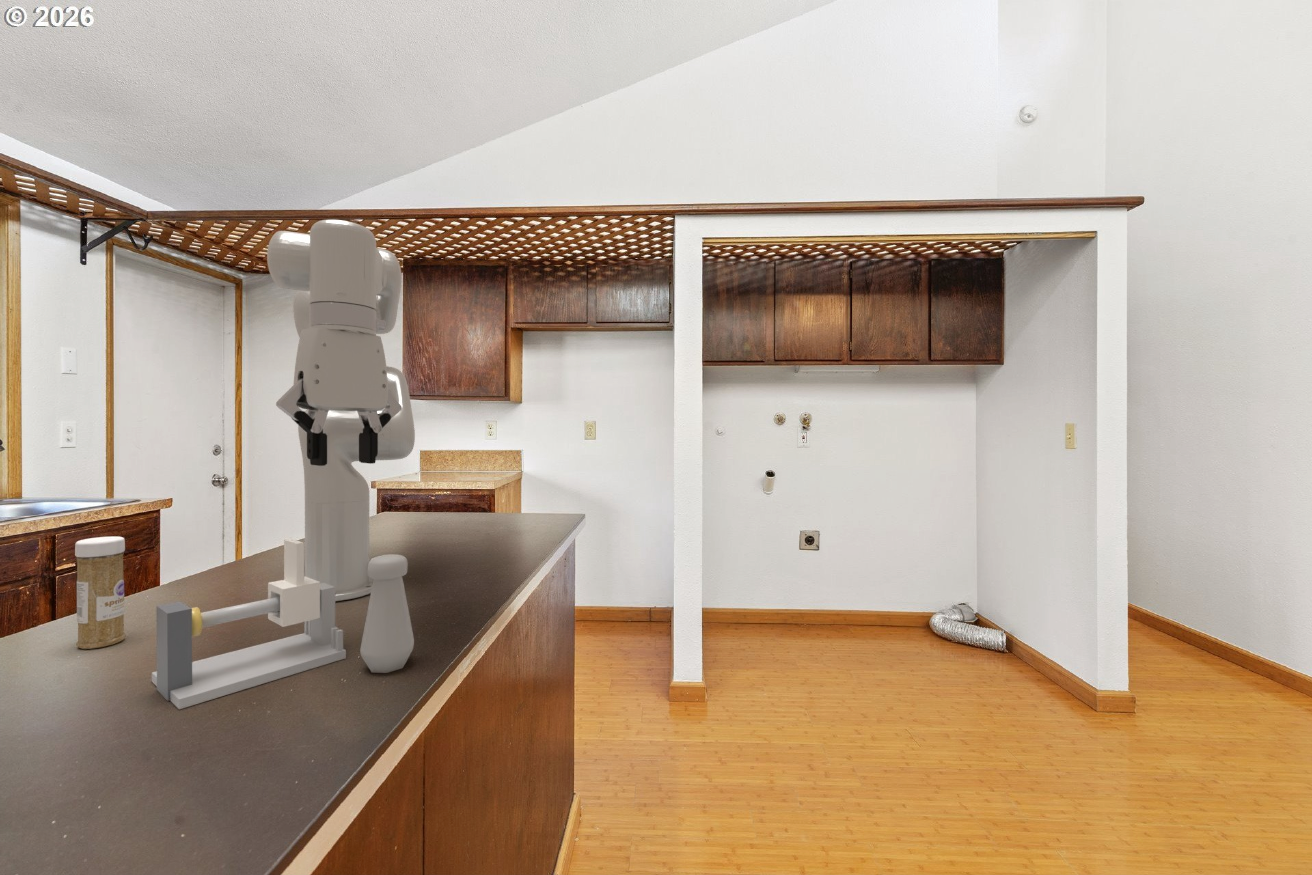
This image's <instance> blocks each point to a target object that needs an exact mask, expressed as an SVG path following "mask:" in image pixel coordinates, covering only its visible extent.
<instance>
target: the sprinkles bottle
mask: <svg viewBox="0 0 1312 875" xmlns="http://www.w3.org/2000/svg"><path fill="white" fill-rule="evenodd" d="M125 542H126V540H125V537H122V536H99V537H91V538H85V539H80V540H78V541H76V542H75V544H74V545H75V546H74V555H75V557H76V561H77V563H76V564H77V565H76V568H77V569H76V571H77V576H76V577H77V578H76V622H77V634H78V636H77V643H76V647H77V648H79V649H83V650H89V649H91V650H92V649H101V648H105V647H107V646H112V645H115V644H118V643H120V642H122V641H123V640H125V638H126V634H125V627H124V626H125V624H124V622H125V621H124V620H125V618H124V616H125V581H124V552H125V551H126V543H125Z"/></svg>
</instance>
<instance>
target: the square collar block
mask: <svg viewBox="0 0 1312 875" xmlns="http://www.w3.org/2000/svg"><path fill="white" fill-rule="evenodd" d="M283 556H284V557H283V568H284V569H283V571H284V572H283V574H284V575H283V579H280V580H276V581H269V582H267V599H270V598H275V597H280V611H275V612H271V613H267V619H268V620H269V621H271V622H273V623H275V624H276V625H278V626H281V627H282V628H285V627H288V626H292V625H293V626H294V625H298V624H301V623H304V622H305V621H309V620H314V619H318V618H320V582H318V581H316V580H313V579H311V578H308V577H305V542H303V541H299V540H297V539H293V538H289V539H284V540H283Z"/></svg>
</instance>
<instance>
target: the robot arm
mask: <svg viewBox="0 0 1312 875" xmlns="http://www.w3.org/2000/svg"><path fill="white" fill-rule="evenodd" d="M266 251H267V255H266V258H267V259H266V260H267V261H266V263H267V268H268V271H269V274H270V277H271V279H272V280H273V282H274V284H275V285H276V286H277V287H279V288H282V289H287V290H293V291H297V292H296V293H295V295H294V298H293V301H292V302H293V305H292V306H293V307H292V308H293V310H292V313H293V319H294V324H295V329H296V332H297V335H298V339H299V340H298V345H297V352H296V356H295V357H296V358H295V365H294V373H293V384H292V386H291V387H290V388H288V389H287V391H286V392H285V393H284V394H283V395H282V396H280V398H279V399H278V400H277V401H276V403H275V406H276V407H277V408H278V409H279V410H280V411H282V412H283V413H284V414H286V415H287V416H288V417H290V419H291V420H292V421H293V422H294V423H295V424H297V426H298V427H297V430H298V438H299V446H300V450H301V457H302V463H303V464H302V465H303V478H304V482H303V483H304V484H303V485H304V576H305V577H308V578H311V579H313V580H316V581H318V582H320V584H321V583H326V584H329V585H331V586H334V587H335V602H340V601H347V600H352V599H357V598H362V597H364V596H367V595H371V590H372V584H373V579H372V578H369V576H368V564H369V561H370V560H371V559H370V488H369V484H368V481H367V480H366V478H365V477H364V476H363V475H362V474H361V472H359V471H358V470H357V469H356V468H355V467H354V466H353V464H352V463H354V462H359V463H361V464H370V465H371V464H373V465H374V464H376V461H394V460H397V461H398V460H401V459H402V460H403V459H406V458H407V457H408V456H410V455H411V453H412V451H413V450H414V447H415V442H416V436H415V435H416V434H415V433H416V431H415V430H416V429H415V423H414V418H413V416H414V415H413V409H412V404H411V403H412V402H411V397H410V396H411V395H410V390H409V386H408V382H407V379H406V376H405V375H404V373H403V371H401V370H400V369H398V368H395V367H392V366H387V361H386V355H385V349H384V345H383V341H382V337H381V336H380V335H384V334H389V333H390V332H392V330H393V329H394V328H395V326H396V323H397V316H398V308H399V302H400V296H401V288H402V268H401V265H400V261H399V260H398V258H397V257H396V255H395V254H394V253H393V252H392V251H390V250H387V249H385V248H379V247H377V240H376V237H375V235H374V233H373V232H372V231H371V230H370V229H369V228H368V227H366V226H363V225H361V224H359V223H356V222H351V221H347V220H344V219H343V220H340V219H322V220H319V221H317V222H315V223H314V224H312V225H311V228H310V230H309V233H304V232H296V231H290V230H289V231H287V230H278V231H276V232H275V233H274V234H273V235H272V237H271V239H270V240H269V242H268V246H267V250H266ZM302 409H304V410H302Z"/></svg>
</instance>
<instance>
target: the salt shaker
mask: <svg viewBox="0 0 1312 875" xmlns="http://www.w3.org/2000/svg"><path fill="white" fill-rule="evenodd" d="M369 560H370V561H369V564H368V576H369V578H372V579H373V584H372V590H371V593H370V594H369V595H370V596H369V601H368V606H367V612H366V617H365V623H364V628H363V633H362V638H361V645H360V650H359V651H360V656H361V658H362V660H363V661H364V662H365V664H366V666H367V668H368V669H369V670H370V672H371V673H377V674H389V673H391V672H394V671H398V670H400V669H403V668H404V666H405V665H406V663H407V661H408V659H409V658H410V656H411V653H412V652H413V650H414V647H415V646H414V645H415V638H414V633H413V627H412V622H411V616H410V610H409V606H408V600H407V594H406V590H405V583H404V580H403V579H404V578H403V577H404V576H405V575H407V573H408V566H409V565H408V558H406V557H405V556H404V555H401V554H394V553H392V554H382V555H381V554H380V555H377V556H375V557H373V558H371V559H369Z"/></svg>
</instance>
